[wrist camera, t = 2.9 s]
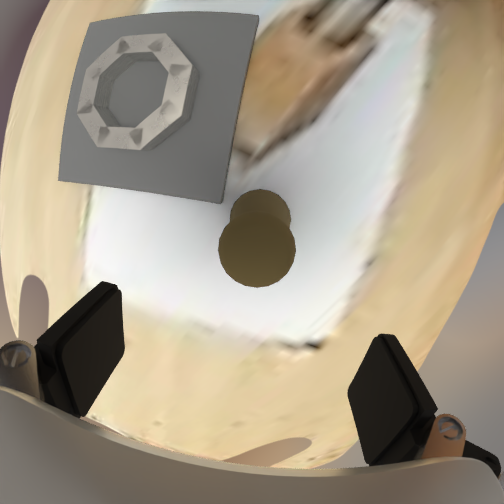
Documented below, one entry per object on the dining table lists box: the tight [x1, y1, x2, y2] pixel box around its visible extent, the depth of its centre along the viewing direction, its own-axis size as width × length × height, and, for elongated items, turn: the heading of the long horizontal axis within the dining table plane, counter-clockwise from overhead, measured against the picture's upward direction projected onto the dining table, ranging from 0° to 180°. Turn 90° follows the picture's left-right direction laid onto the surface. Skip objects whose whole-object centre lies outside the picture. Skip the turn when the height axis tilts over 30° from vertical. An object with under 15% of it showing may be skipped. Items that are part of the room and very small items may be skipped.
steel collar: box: [77, 33, 200, 150], centre depth 22 cm, size 12×12×3 cm
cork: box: [218, 189, 296, 288], centre depth 23 cm, size 6×6×11 cm
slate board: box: [58, 11, 259, 204], centre depth 24 cm, size 20×20×1 cm
